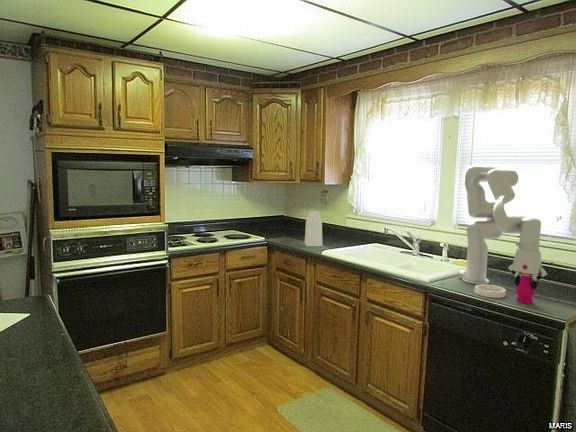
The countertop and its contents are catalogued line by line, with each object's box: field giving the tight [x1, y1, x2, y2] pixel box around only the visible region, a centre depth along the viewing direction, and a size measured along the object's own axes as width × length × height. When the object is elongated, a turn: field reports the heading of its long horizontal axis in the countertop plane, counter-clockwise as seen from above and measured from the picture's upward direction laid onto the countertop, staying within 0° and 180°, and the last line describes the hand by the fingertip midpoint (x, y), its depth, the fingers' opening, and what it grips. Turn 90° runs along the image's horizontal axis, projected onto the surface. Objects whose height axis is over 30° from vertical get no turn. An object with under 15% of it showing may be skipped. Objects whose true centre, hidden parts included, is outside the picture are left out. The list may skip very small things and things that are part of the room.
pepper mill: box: [515, 265, 536, 305], centre depth 180 cm, size 7×7×20 cm
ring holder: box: [473, 284, 507, 299], centre depth 193 cm, size 13×13×3 cm
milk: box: [304, 210, 323, 247], centre depth 302 cm, size 12×12×26 cm
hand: (525, 287), depth 181 cm, fingers closed on pepper mill, 5 cm apart
